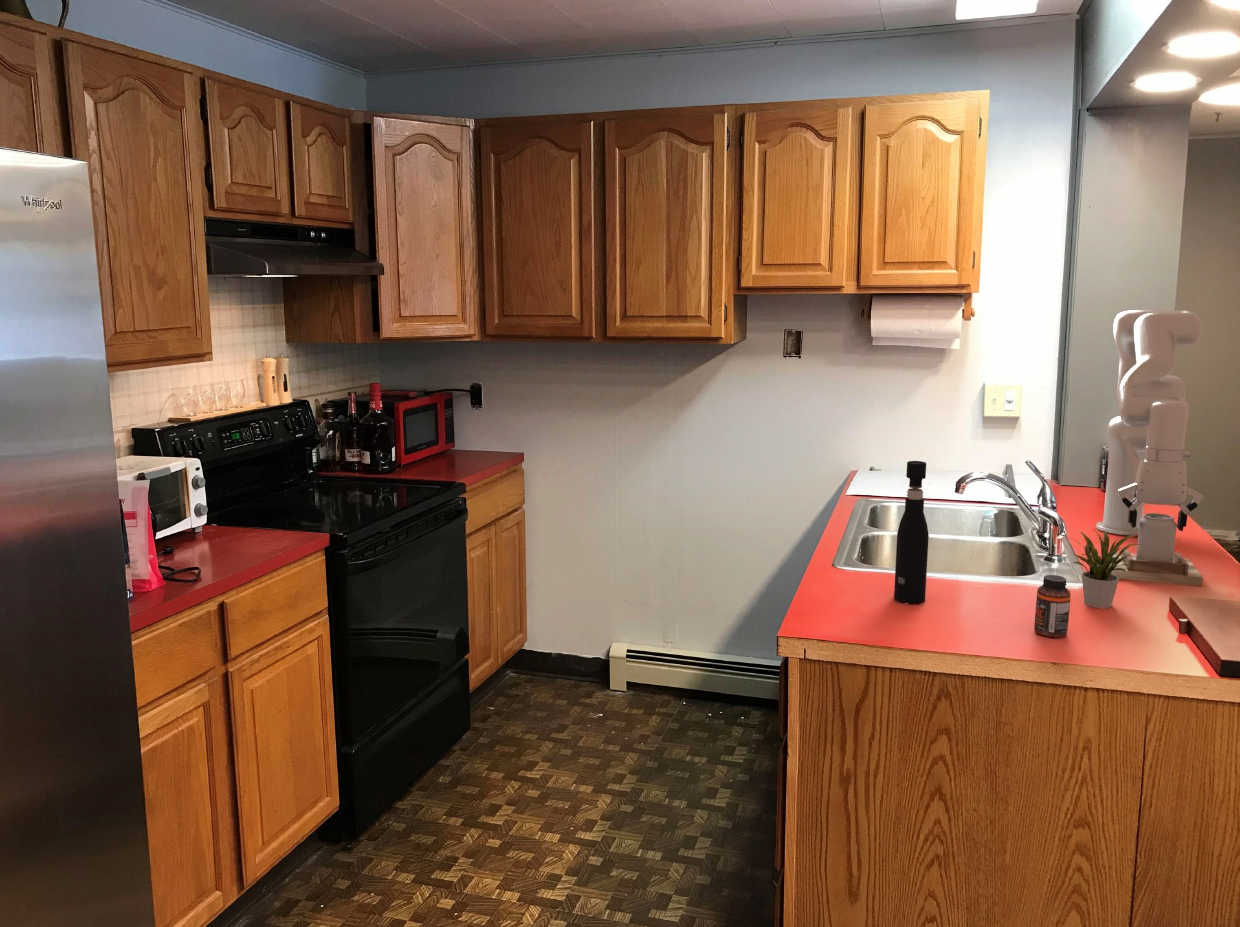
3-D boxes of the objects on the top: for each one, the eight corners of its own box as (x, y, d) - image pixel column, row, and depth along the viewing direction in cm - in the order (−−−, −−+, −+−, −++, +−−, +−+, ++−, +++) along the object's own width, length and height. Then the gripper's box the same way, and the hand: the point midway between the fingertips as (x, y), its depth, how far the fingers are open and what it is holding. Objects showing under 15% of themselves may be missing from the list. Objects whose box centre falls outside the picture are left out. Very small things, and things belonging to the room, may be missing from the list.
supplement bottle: (1027, 628, 191) (1032, 573, 189) (1057, 627, 191) (1061, 572, 189) (1043, 639, 185) (1048, 582, 183) (1073, 638, 185) (1078, 581, 183)
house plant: (1152, 604, 204) (1159, 529, 201) (1130, 621, 195) (1137, 542, 192) (1081, 590, 214) (1088, 518, 211) (1057, 604, 204) (1063, 529, 201)
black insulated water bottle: (925, 596, 210) (933, 460, 204) (924, 605, 204) (932, 466, 198) (894, 593, 212) (901, 458, 207) (892, 602, 206) (899, 464, 201)
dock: (1104, 559, 237) (1105, 542, 236) (1187, 566, 231) (1189, 548, 230) (1112, 578, 222) (1114, 559, 222) (1202, 586, 216) (1204, 566, 216)
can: (1164, 561, 228) (1169, 512, 226) (1177, 570, 221) (1183, 519, 219) (1130, 560, 229) (1135, 511, 227) (1142, 569, 222) (1147, 518, 220)
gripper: (1203, 454, 221) (1195, 526, 225) (1119, 450, 227) (1112, 520, 230) (1211, 460, 214) (1202, 535, 218) (1123, 456, 220) (1116, 529, 223)
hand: (1156, 527), depth 224 cm, fingers open, 9 cm apart
